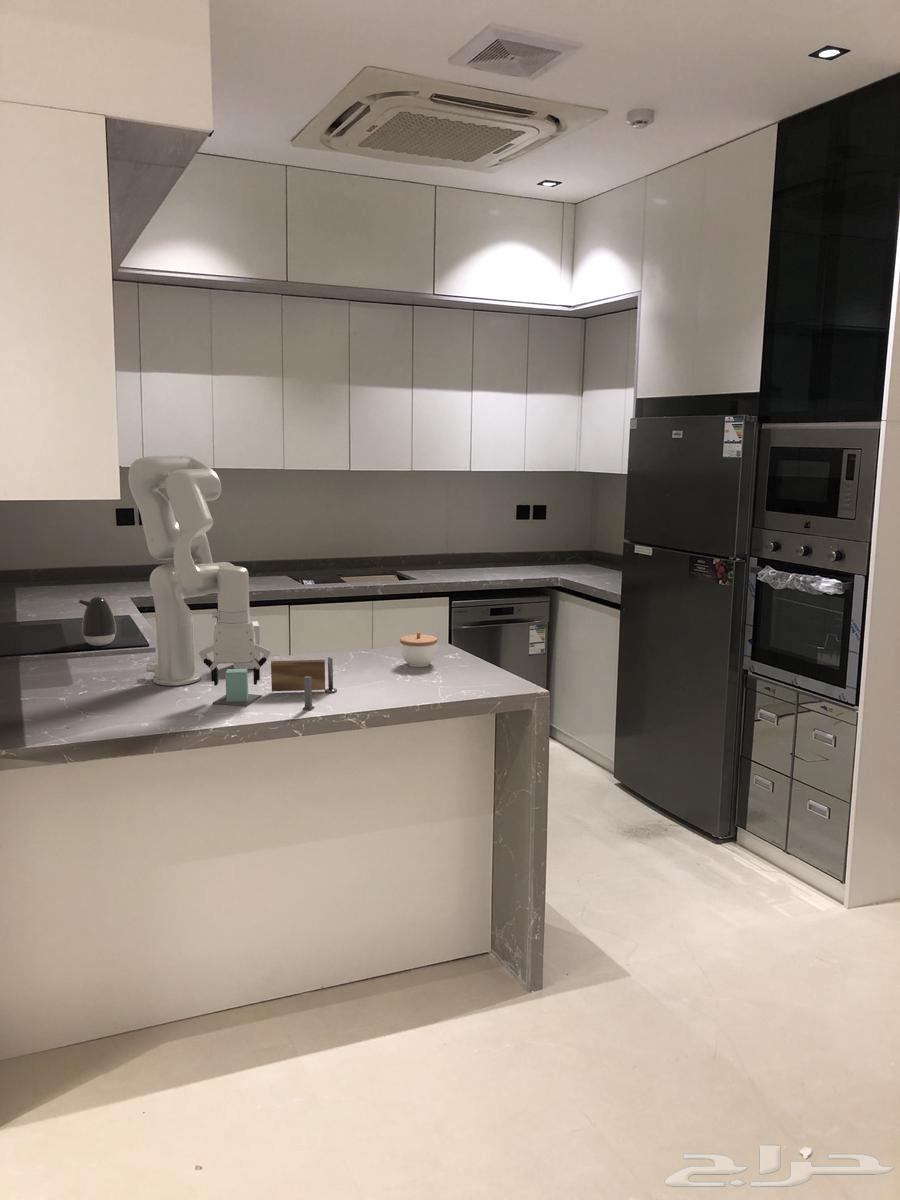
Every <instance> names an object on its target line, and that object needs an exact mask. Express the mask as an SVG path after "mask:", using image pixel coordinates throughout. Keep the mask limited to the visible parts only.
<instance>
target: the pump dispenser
mask: <svg viewBox="0 0 900 1200" xmlns="http://www.w3.org/2000/svg"><path fill="white" fill-rule="evenodd" d="M79 604H81V605H83V606H86V608H85V609H84V613H83V618H82V624H81V635H82V636H83V638H84V641H85V642H86V643H88V645H91V646H94V647H102V646H108V645H109V644H111V643H112V642H113V641H114V639H115V638H116V637H115V636H116V634H117V624H116V620H115V616H114V613H113V611H112V609H111V606H110V605H109V603H108V601H107V600H106V599H105V597H101V596H94V597H92V598H91V599H89V601H87V600H83V599H80V600H79Z"/></svg>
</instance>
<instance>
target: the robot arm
mask: <svg viewBox="0 0 900 1200" xmlns="http://www.w3.org/2000/svg"><path fill="white" fill-rule="evenodd" d="M127 477H128V486H129V489H130V493H131V495H132V497H133V499H134V501H135V504H136V506H137V509H138V511H139V514H140V515H139V516H140V518H141V523H142V528H143V532H144V537H145V540H146V544H147V548H148V549H147V550H148V551H149V554H150V555H151V557H152V558H153V559H156V560H161V561H164V560H165V561H166V560H167V561H168V560H173V563H166V564H162V565H159V566H157V567H155V569H153V571H152V572H151V574H150V576H149V585H150V586H149V587H150V591H151V594H152V599H153V604H154V611H155V627H156V631H155V632H156V644H157V645H156V646H157V647H156V648H157V663H152V662H151V663H150V662H148V663H146V668H145V670H146V672H149V673H154V675H153V677H152V681H153V683H154V684H156V685H161V686H169V687H171V686H174V687H175V686H185V685H190V684H194V683H198V681H201V679H202V674H201V672H199V671H198V670H197V671H196V657H195V655H196V654H195V639H194V638H195V637H194V635H195V634H194V618H193V614H192V613H193V612H192V610H191V609H190V607H189V606H188V605H187V603H186V602H185V600H184V599H189V598H195V597H196V598H197V597H203V596H207V595H209V594H217V611H214V612H212V615H211V617H212V618H214V619H217V621H216V622H215V624H214V630H213V644H212V645H209V646H207V647H205V648H204V649H202V650H199V653H198V654H199V657H200V658H201V660H202V662H203V664H205V665H206V666H207V667H208V669H209V670H210V674H211V676H210V677H211V678H210V679H211V682H213V685H214V686H218V684H219V668H218V665H219V664H233V663H251V664H252V665H253V666H254V669H252V671H253V672H252V675H253V676H252V677H253V685H255V686H257V684H258V682H259V681H261V673H260V672H261V671H260V669H261V668H262V667H263V665H264V664H265V663H266V662H267V660H268V659H269V657H270V654H271V653H272V652H271V649H269V648H266V647H264V646H262V645H261V644H260V645H258V644H256V642H255V633H254V627H253V623H252V620H251V619H250V618H251V615H250V613H251V612H250V611H251V610H250V580H249V579H250V578H249V577H250V575H249V574H250V573H249V571H248V569H247V568H246V567H244V566H237V565H234V564H232V563H231V562H228V561H220V562H219V561H218V562H214V560H213V556H212V552H211V547H210V544H209V540H208V536H207V532H208V531H210V530H211V529H212V527H213V525H214V520H213V517H212V515H211V512H210V509H209V506H208V504H207V502H212V501H215V500H217V499H218V498H219V497H220V496H221V493H222V482H221V480H220V477H219V476H218V474H217V472H215V471H214V469H212V468H211V467H209V465H206V464H205V463H203V462H201V461H199V459H196V458H195V457H193V456H189V455H153V456H152V455H151V456H149V455H148V456H143V457H139V458H138V459H137V458H136V459H135V460H133V462H131V464H130V467H129V469H128V476H127ZM159 489H164V490H165V493H166V495H167V497H168V498H167V497H166V496H165V495H164V493H162V492H161V491H160V490H159ZM256 650H257V651H259V652H260V654H261V653H262V654H263V655H262V657H260V660H259V661H258V660H257V659H256ZM212 652H213V654H212V655H213V661H212V660H211V659H210V658H209V657H208V654H210V653H212Z"/></svg>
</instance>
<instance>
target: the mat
mask: <svg viewBox="0 0 900 1200" xmlns="http://www.w3.org/2000/svg"><path fill="white" fill-rule="evenodd" d="M261 697H263V696H262V694H251V693H248V699H247V701H235V702H226V694H224V695H222V696H221V697H219V698H218V699H215V700H214V701H213V702H212V705H222V706H234V707H248V706H250V705H251V704H252V703H254V702H255V701H257V700H259V699H260V698H261Z"/></svg>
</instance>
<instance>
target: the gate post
mask: <svg viewBox="0 0 900 1200" xmlns="http://www.w3.org/2000/svg"><path fill="white" fill-rule="evenodd" d="M333 660H334V659H333V657H332V656H330V657H327V680H328V681H327V685H328V688H325V690H324V693H326V694H334V693H337V692H338V689H337V688H335V687H334V667H333V663H334V661H333Z"/></svg>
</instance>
